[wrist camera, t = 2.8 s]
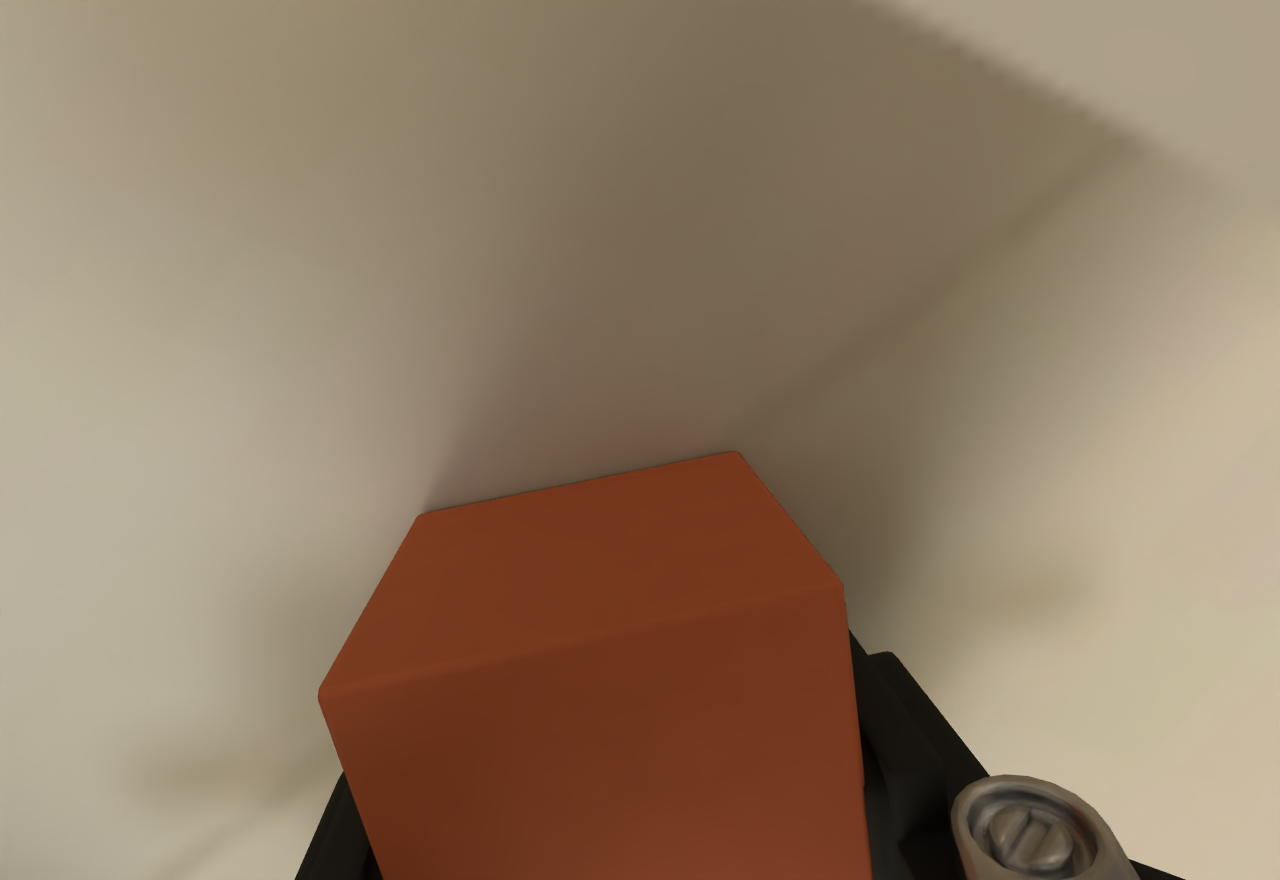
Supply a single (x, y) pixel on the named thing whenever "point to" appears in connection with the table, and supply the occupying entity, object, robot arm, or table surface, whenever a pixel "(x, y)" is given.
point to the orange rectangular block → (606, 690)
